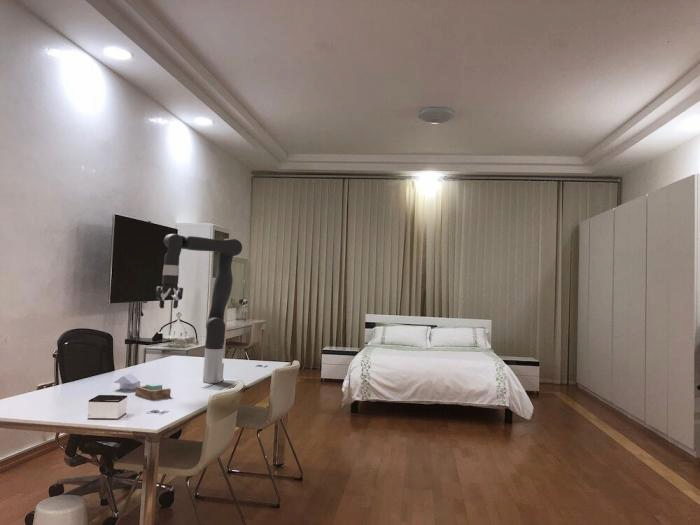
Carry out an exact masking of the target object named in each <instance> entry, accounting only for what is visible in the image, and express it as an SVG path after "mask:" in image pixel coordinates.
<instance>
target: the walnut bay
mask: <svg viewBox="0 0 700 525" xmlns="http://www.w3.org/2000/svg"><path fill="white" fill-rule="evenodd" d="M134 390H135V393H134V395H135V396H137V397H140V398H144V399H147V400H150V401H151V400H152V401H153V400H159V399H165V398H171V393H172V391H171V388H169V387H168V388H162V389H159V390H149V389H146V385H140V386H139V387H136V389H134Z"/></svg>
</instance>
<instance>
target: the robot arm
mask: <svg viewBox="0 0 700 525" xmlns="http://www.w3.org/2000/svg"><path fill="white" fill-rule="evenodd" d="M163 245H164V246H165V247H166V248H167V252H166V253H165V255H164V260H163V261H164V262H163V269H162V280H161V283H162V285H161V286H156V287H155V299H156V300H159V306H158V307H159V308H160V309H164V308H165V299H166V297H168V296H171V297H172V298H173V304H172V307H173V308H172V309H178V308H179V307H178V306H179V301H180V300H181V301H182V299H183V292H184V288H183V287H182V286H181V287H179V286H178V285H179V279H180V278H179V276H180V256H181V252H182V250H187V251H199V252H217V253H218V254H219V256H218V264H217V268H216V274H215V279H214V283H213V284H214V285H213V288H212V289H213V290H212V295H211V305H210V310H209V314H208V317H207V320H206V325H205V329H206V337H205V344H204V358H203V361H204V363H203V375H202V382H203V383H207V384H208V383H209V384H217V383H221V381H222V382H224V381H223V380H224V379H223V378H224V366H225V365H224V364H225V363H224V362H223V361H224V360H223V357H224V346H225V338H226V337H225V336H226V323H225V321H224V320H225V311H226V306H227V304H228V302H229V299H230V296H231V293H232V289H233V288H232V287H233V283H234V282H233V271H232V263H233V258H234V257H236V256H239V255H240V254H241V253H242V250H243V245H242V242H241V241H240V240H239V239H236V238H225V239H217V238H216V239H215V238H214V239H213V238H209V237H201V236H194V235H193V236H192V235H180V234H177V233H169V234H166V235H165V237H164V238H163Z"/></svg>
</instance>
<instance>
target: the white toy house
mask: <svg viewBox="0 0 700 525" xmlns="http://www.w3.org/2000/svg"><path fill="white" fill-rule="evenodd" d="M113 384H119V389H123V390H136V387H139V386H141V379H140V378H137V377H136V376H135V375H134V374H133V373H131V372H130V373H128V374H125V375H122V377H119V378H118V379H117V380H115V381H114V382H113Z"/></svg>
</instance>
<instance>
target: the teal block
mask: <svg viewBox="0 0 700 525" xmlns="http://www.w3.org/2000/svg"><path fill="white" fill-rule="evenodd" d="M145 386H146V389H149V390H159V389H163V384H160V383H148V384H145Z"/></svg>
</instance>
